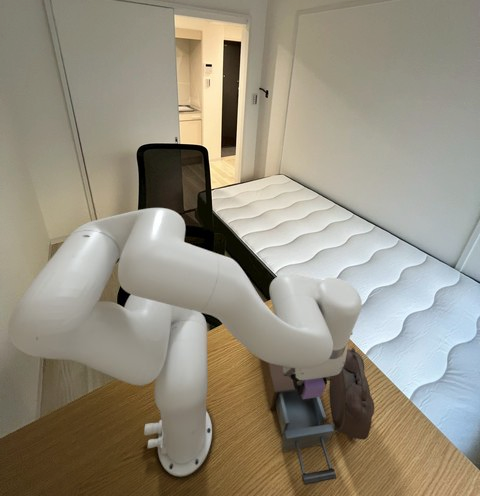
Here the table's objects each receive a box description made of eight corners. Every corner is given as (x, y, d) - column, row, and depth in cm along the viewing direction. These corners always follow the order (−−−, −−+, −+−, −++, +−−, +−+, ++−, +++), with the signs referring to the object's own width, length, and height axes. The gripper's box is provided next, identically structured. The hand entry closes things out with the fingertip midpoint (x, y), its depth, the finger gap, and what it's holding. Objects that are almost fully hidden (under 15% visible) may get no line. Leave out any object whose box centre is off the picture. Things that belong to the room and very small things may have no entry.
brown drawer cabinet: (315, 402, 66) (322, 385, 62) (270, 409, 64) (274, 391, 60) (296, 345, 79) (301, 328, 75) (258, 349, 77) (261, 332, 73)
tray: (340, 484, 53) (349, 471, 50) (290, 494, 51) (296, 482, 48) (306, 377, 70) (310, 364, 67) (268, 382, 68) (271, 368, 66)
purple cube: (295, 376, 57) (298, 365, 55) (313, 373, 57) (317, 362, 55) (302, 399, 53) (306, 388, 51) (321, 396, 53) (325, 385, 51)
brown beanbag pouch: (362, 456, 57) (391, 415, 49) (331, 446, 58) (353, 404, 50) (350, 384, 70) (371, 341, 62) (324, 377, 71) (341, 334, 63)
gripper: (354, 313, 52) (334, 362, 60) (278, 320, 49) (268, 371, 57) (377, 350, 45) (351, 400, 53) (290, 362, 42) (277, 413, 50)
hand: (308, 385), depth 55 cm, fingers closed on purple cube, 4 cm apart
